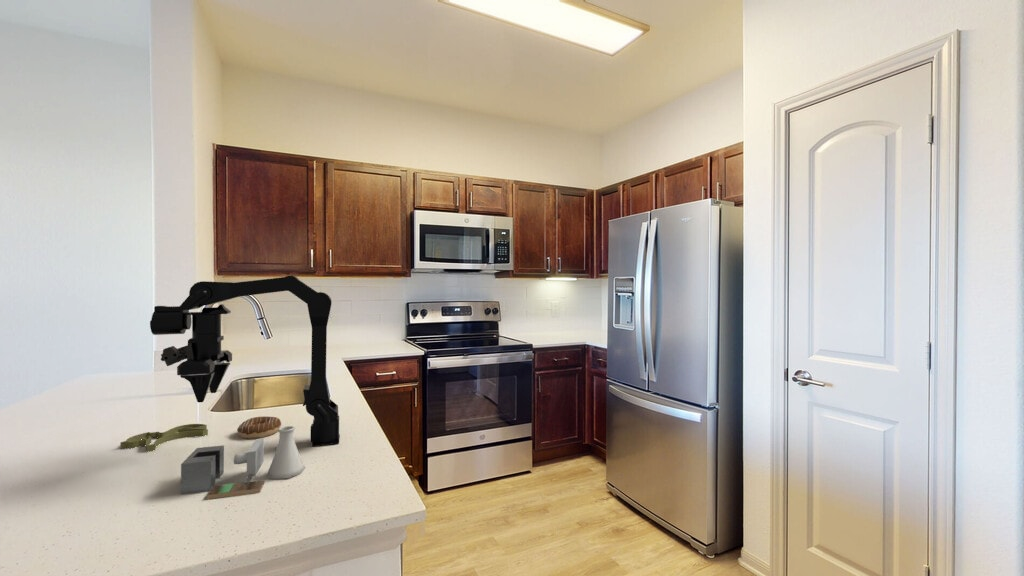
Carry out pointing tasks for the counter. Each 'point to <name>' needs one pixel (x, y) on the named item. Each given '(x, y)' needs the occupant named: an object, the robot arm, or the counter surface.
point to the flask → (286, 456)
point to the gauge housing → (211, 475)
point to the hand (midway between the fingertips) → (207, 397)
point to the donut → (259, 427)
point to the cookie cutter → (164, 436)
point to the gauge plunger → (251, 458)
